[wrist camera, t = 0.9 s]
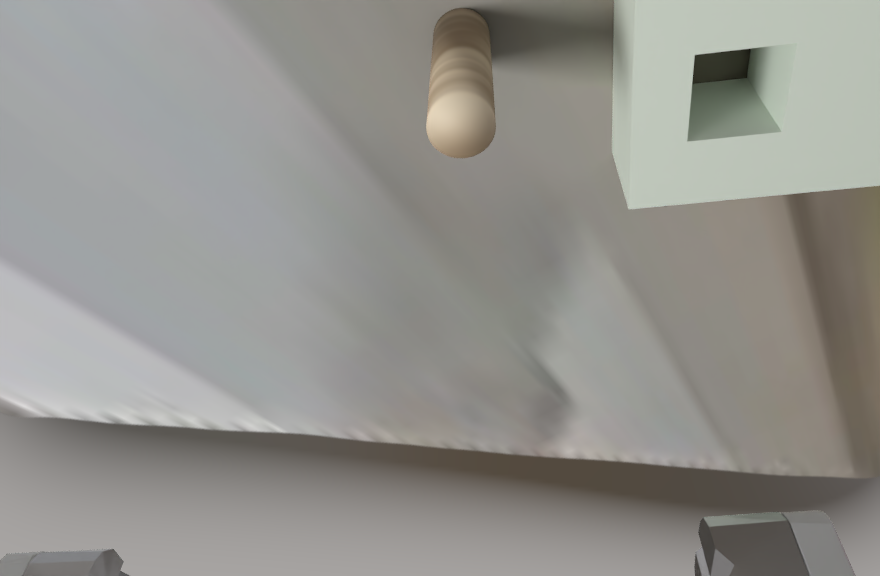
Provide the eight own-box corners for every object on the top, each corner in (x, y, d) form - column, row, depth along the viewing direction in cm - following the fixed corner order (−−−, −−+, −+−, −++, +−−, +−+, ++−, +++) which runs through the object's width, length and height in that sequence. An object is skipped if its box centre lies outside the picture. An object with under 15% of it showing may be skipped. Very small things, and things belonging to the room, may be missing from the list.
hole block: (614, -63, 37) (636, -21, 32) (1055, -121, 35) (1144, -86, 30) (611, 151, 45) (628, 209, 40) (972, 114, 43) (1033, 170, 38)
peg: (429, 11, 40) (421, 100, 32) (486, 4, 39) (492, 92, 32) (437, 66, 42) (431, 161, 34) (492, 59, 41) (498, 154, 34)
